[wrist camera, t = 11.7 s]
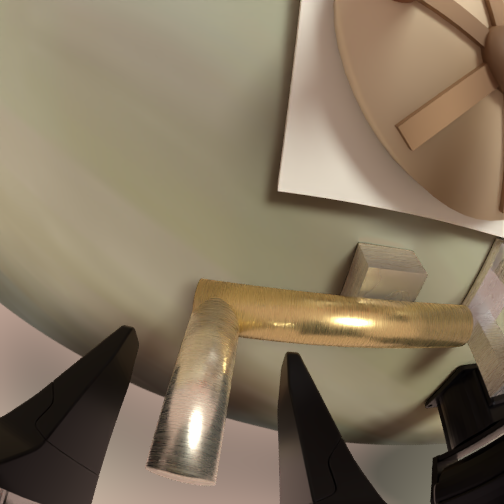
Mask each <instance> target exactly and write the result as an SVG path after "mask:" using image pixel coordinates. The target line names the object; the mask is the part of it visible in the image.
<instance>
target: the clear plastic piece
mask: <svg viewBox="0 0 504 504" xmlns="http://www.w3.org/2000/svg"><path fill="white" fill-rule="evenodd" d="M427 276H428V274H427V272H426V271H425V269H424V267H423V266H422V264H421V262H420V261H419V259H418V258H417V256H416V255H415V253H414V252H413V251H410V250H404V249H397V248H391V247H385V246H378V245H372V244H365V243H358V246H357V249H356V252H355V255H354V258H353V261H352V264H351V267H350V270H349V273H348V276H347V278H346V281H345V284H344V287H343V290H342V292H341V296H351V297H361V298H372V299H384V300H396V301H409V302H414V301H415V299H416V297H417V295H418V294H419V292H420V290H421V288H422V286H423V284H424V282H425V280H426V278H427ZM462 305H465V306H467V307H468V308H469V309H470V311H471V313H472V316H473V331H472V334H471V337H470V339H469V340H468V342H467V343H468V345H469V347H470V349H471V352H472V354H473V356H474V358H475V361H476V363H477V365H478V368H479V370H480V372H481V375H482V377H483V380H484V382H485V385H486V387H487V390H488V393H489V395H490V398H491V397H494V396H498V395H501V394H504V335H503V333H502V331H501V329H500V328H499V326H498V324H497V322H496V321H495V320H496V318H497V317H498V315H499V314H500V312H501V311H502V309H503V308H504V240H502V239H498V238H496V239H495V242H494V244H493V246H492V248H491V250H490V253H489V255H488V257H487V259H486V261H485V263H484V265H483V267H482V269H481V271H480V273H479V275H478V276H477V278H476V280H475V282H474V284H473V286H472V287H471V289H470V291H469V293H468V294H467V296H466V298H465V300H464V301H463V303H462Z"/></svg>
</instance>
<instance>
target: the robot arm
mask: <svg viewBox="0 0 504 504" xmlns="http://www.w3.org/2000/svg"><path fill="white" fill-rule="evenodd" d="M138 347H139V342H138V338H137V335H136V331H135V329H134V328H133V327H130V326H126V325H123V326H121V327H120V328H119V329H117V330H116V331H115V332H113V333H112V334H111V335H110V336H108V337H107V338H106V339H105V340H103V341H102V342H101V343H100V344H98V345H97V346H96V347H95V348H93V349H92V350H91V351H90V352H88V353H87V354H86V355H85V356H83V357H82V358H81V359H80V360H78V361H77V362H76V363H75V364H73V365H72V366H71V367H70V368H69V369H67V370H66V371H65V372H64V373H62V374H61V375H60V376H59V377H57V378H56V379H55V380H54V381H53V382H51V383H50V384H49V385H48V386H46V387H45V388H44V389H42V391H40V392H39V393H37V394H36V395H35V396H33V397H32V398H30V399H29V400H28V401H26V402H24V403H23V404H21V405H20V406H18V407H17V408H15V409H14V410H12V411H11V412H9V413H8V414H6V415H4V416H2V417H0V504H91V503H92V500H93V496H94V492H95V488H96V485H97V481H98V478H99V473H100V470H101V467H102V464H103V460H104V457H105V454H106V451H107V447H108V444H109V441H110V438H111V435H112V432H113V429H114V426H115V423H116V420H117V417H118V414H119V411H120V408H121V406H122V403H123V400H124V397H125V395H126V392H127V389H128V386H129V383H130V379H131V375H132V371H133V367H134V363H135V359H136V355H137V351H138ZM432 407H438V411H439V415H440V418H441V422H442V426H443V431H444V435H445V439H446V444H447V448H448V452H446V453H444V454H442V455H438V456H436V457H434V458H433V466H432V485H431V500H430V502H431V504H504V435H503V436H501V437H499V438H498V439H496V440H495V441H493V442H491V443H490V444H488V445H487V446H485V447H483V448H481V449H480V450H478V451H476V452H474V453H472V454H471V455H469V456H467V457H465V458H463V459H462V460H459V461H458V459H459V458H461V457H463V456H465V455H466V454H468V453H470V452H472V451H474V450H475V449H477V448H479V447H481V446H482V445H484V444H486V443H488V442H489V441H491V440H493V439H494V438H496V437H497V436H499V435H500V434H502V433H503V432H504V394H501V395H498V396H494V397H491V398H490V395H489V393H488V390H487V387H486V385H485V382H484V380H483V377H482V375H481V372H480V370H479V368H478V365H477V364H473V365H465V366H462V367H460V368H459V369H457V371H456V372H455V373H454V374H453V375H452V376H451V377H450V378H449V379H448V381H447V382H446V383H445V384H444V385H443V386H442V387H441V388H440V389H439V390H438V391H437V392H436V393H435V394H434V395H433V396H432V397H431V398H430V399H429V400H428V401H427V402H426V403H425V408H432ZM341 437H342V436H341V434H340V432H339V430H338V428H337V426H336V424H335V422H334V420H333V418H332V417H331V415H330V413H329V411H328V409H327V407H326V405H325V403H324V401H323V399H322V397H321V395H320V393H319V391H318V389H317V387H316V385H315V383H314V381H313V380H312V378H311V376H310V374H309V372H308V370H307V368H306V366H305V364H304V362H303V360H302V358H301V356H300V354H299V353H296V352H287V353H286V354H285V357H284V361H283V364H282V368H281V377H280V388H279V399H278V441H279V476H280V504H387V503H386V502H385V501H384V500H383V499H382V498H381V497H380V495H379V494H378V493H377V491H376V490H375V489H374V487H373V486H372V484H371V483H370V482H369V480H368V479H367V477H366V476H365V475H364V473H363V472H362V470H361V469H360V467H359V466H358V464H357V463H356V461H355V460H354V458H353V456H352V454H351V453H350V451H349V449H348V447H347V446H346V444H345V442H344V440H343V438H341Z"/></svg>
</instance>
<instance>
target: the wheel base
mask: <svg viewBox="0 0 504 504" xmlns="http://www.w3.org/2000/svg"><path fill="white" fill-rule="evenodd" d="M333 3H334V0H300V8H299V17H298V26H297V35H296V44H295V53H294V61H293V69H292V78H291V86H290V94H289V102H288V109H287V117H286V125H285V133H284V140H283V148H282V155H281V162H280V170H279V177H278V191H281V192H288V193H296V194H302V195H309V196H316V197H322V198H328V199H334V200H340V201H346V202H352V203H357V204H363V205H368V206H373V207H379V208H384V209H389V210H394V211H398V212H403V213H408V214H412V215H417V216H421V217H426V218H430V219H434V220H439V221H443V222H447V223H451V224H455V225H459V226H463V227H467V228H470V229H474V230H478V231H482V232H485V233H489V234H492V235H496V236H499V237H503V238H504V220H497V221H488V220H480V219H475V218H472V217H469V216H465V215H463V214H461V213H459V212H457V211H455V210H453V209H451V208H449V207H447V206H446V205H445V204H443V203H442V202H440V201H439V200H438V199H436V198H435V197H433V196H432V195H431V194H430V193H429V192H428V191H427V190H426V189H424V188H423V187H422V186H421V185H420V184H419V183H417V182H416V181H415V180H414V179H413V178H412V177H411V176H409V175H408V174H407V173H406V172H405V171H404V170H403V169H402V168H401V166H400V165H399V164H398V163H397V162H396V161H395V160H394V159H393V158H392V157H391V155H390V154H389V153H388V151H387V150H386V149H385V147H384V146H383V145H382V143H381V142H380V141H379V139H378V138H377V136H376V135H375V133H374V131H373V130H372V128H371V126H370V125H369V123H368V122H367V120H366V118H365V116H364V114H363V112H362V110H361V108H360V106H359V104H358V102H357V100H356V98H355V96H354V94H353V91H352V89H351V86H350V84H349V81H348V79H347V76H346V74H345V71H344V67H343V63H342V60H341V56H340V53H339V50H338V44H337V38H336V33H335V27H334V9H333Z"/></svg>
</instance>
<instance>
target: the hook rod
mask: <svg viewBox="0 0 504 504" xmlns="http://www.w3.org/2000/svg"><path fill="white" fill-rule="evenodd" d="M472 331H473V316H472V313H471V311H470V309H469V308H468V307H467V306H465V305H453V304H437V303H422V302H409V301H396V300H384V299H372V298H361V297H351V296H341V295H331V294H321V293H312V292H303V291H294V290H285V289H277V288H269V287H261V286H253V285H245V284H237V283H230V282H222V281H215V280H208V279H200V280H199V282H198V285H197V288H196V292H195V296H194V302H193V311H192V314H191V317H190V320H189V323H188V326H187V329H186V332H185V335H184V338H183V341H182V344H181V348H180V351H179V354H178V357H177V360H176V363H175V366H174V370H173V373H172V376H171V379H170V383H169V386H168V389H167V392H166V396H165V399H164V402H163V406H162V409H161V413H160V416H159V420H158V423H157V426H156V430H155V434H154V437H153V440H152V444H151V448H150V451H149V455H148V459H147V462H146V466H145V468H146V469H147V470H149V471H150V472H152V473H155V474H157V475H159V476H162V477H165V478H168V479H171V480H175V481H179V482H183V483H188V484H194V485H202V486H213V485H215V484H216V478H217V472H218V464H219V459H220V453H221V446H222V439H223V433H224V426H225V420H226V414H227V408H228V401H229V395H230V389H231V382H232V376H233V369H234V363H235V357H236V350H237V344H238V337H243V338H251V339H259V340H268V341H277V342H287V343H298V344H310V345H324V346H341V347H363V348H440V347H460V346H463V345H465V344H466V343H467V342H468V340H469V339H470V337H471V334H472Z"/></svg>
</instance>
